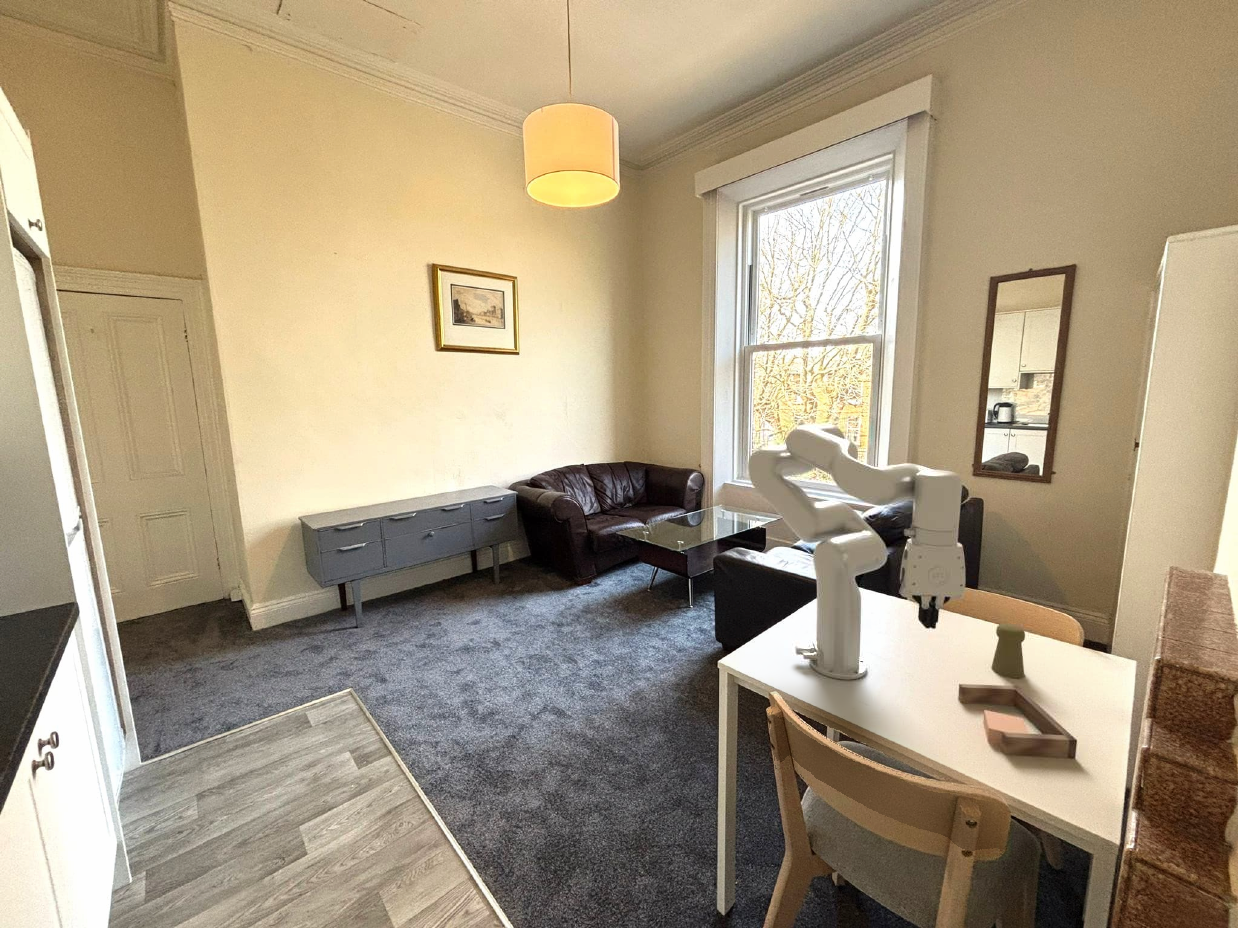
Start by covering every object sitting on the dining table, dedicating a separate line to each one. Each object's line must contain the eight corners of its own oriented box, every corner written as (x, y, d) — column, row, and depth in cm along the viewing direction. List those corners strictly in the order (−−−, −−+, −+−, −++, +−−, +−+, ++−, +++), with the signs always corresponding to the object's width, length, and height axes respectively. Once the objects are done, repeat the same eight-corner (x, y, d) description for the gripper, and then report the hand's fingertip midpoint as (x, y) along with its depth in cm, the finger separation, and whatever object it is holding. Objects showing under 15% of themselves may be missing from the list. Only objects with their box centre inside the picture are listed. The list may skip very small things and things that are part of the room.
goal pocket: (1005, 754, 91) (1006, 736, 91) (958, 699, 107) (959, 683, 107) (1075, 758, 90) (1077, 740, 89) (1016, 701, 106) (1018, 685, 105)
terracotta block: (987, 742, 95) (988, 728, 94) (983, 723, 100) (984, 709, 100) (1028, 752, 92) (1029, 737, 91) (1021, 732, 97) (1022, 718, 97)
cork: (1030, 679, 113) (1034, 632, 111) (999, 677, 114) (1002, 631, 113) (1015, 665, 119) (1018, 620, 117) (986, 663, 120) (989, 619, 118)
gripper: (899, 540, 95) (893, 633, 98) (988, 542, 92) (979, 636, 95) (885, 529, 102) (880, 615, 105) (967, 530, 100) (959, 617, 103)
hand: (927, 625), depth 100 cm, fingers closed
